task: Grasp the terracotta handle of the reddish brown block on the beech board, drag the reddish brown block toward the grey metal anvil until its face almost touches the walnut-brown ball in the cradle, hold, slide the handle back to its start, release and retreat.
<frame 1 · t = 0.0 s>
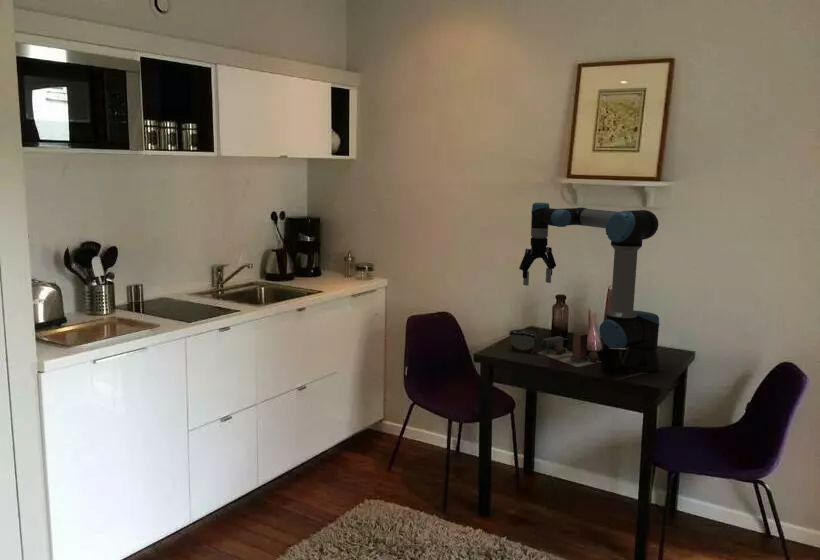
hand: (537, 284, 313), 28 cm above the table, fingers open, 13 cm apart
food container: (523, 353, 303), on the table
reddish brown block: (579, 347, 288), point 7 cm above the table, slide at 0.0 cm
anvil: (555, 345, 300), on the board, point 4 cm above the table
nut: (558, 353, 299), point 1 cm above the table, touching board
board: (568, 359, 294), on the table
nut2: (593, 361, 289), point 1 cm above the table, touching board
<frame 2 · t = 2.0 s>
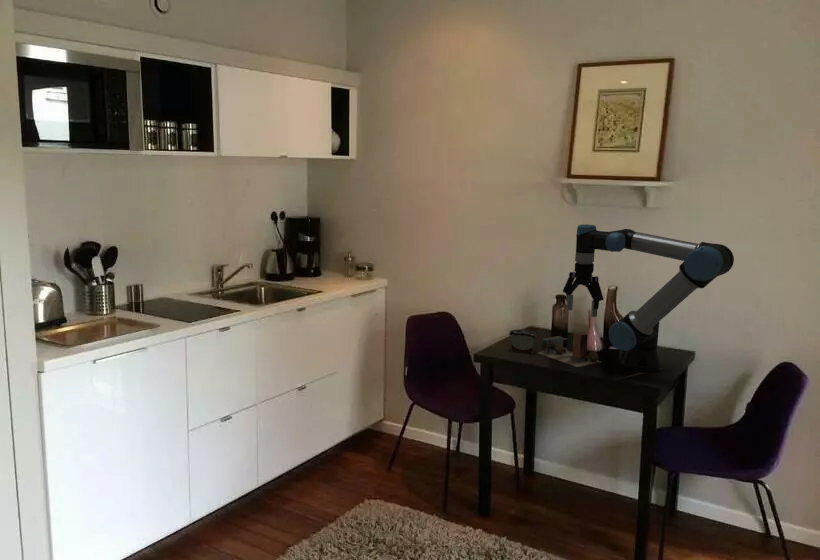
hand: (581, 313, 286), 21 cm above the table, fingers open, 13 cm apart
nothing on the table moved.
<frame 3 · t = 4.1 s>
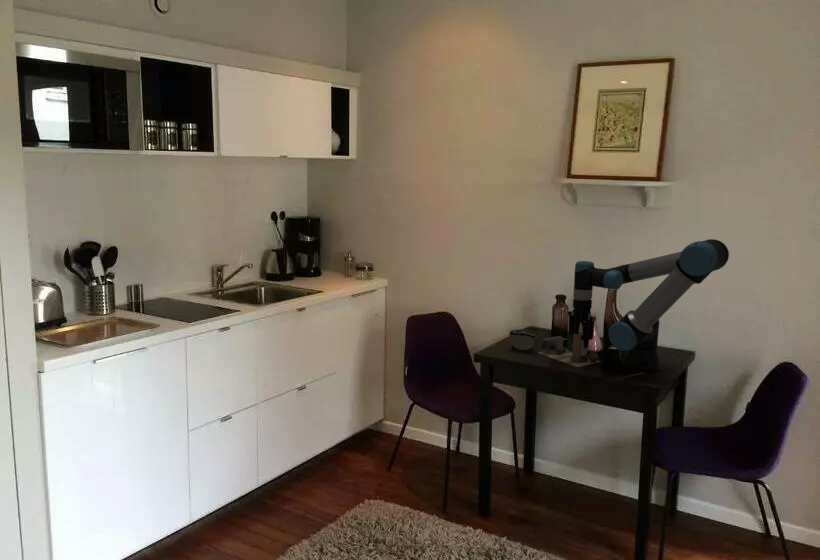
hand: (579, 353, 288), 4 cm above the table, fingers closed on reddish brown block, 4 cm apart
reddish brown block: (579, 347, 288), point 7 cm above the table, slide at 0.0 cm, touching gripper
everything else where it was.
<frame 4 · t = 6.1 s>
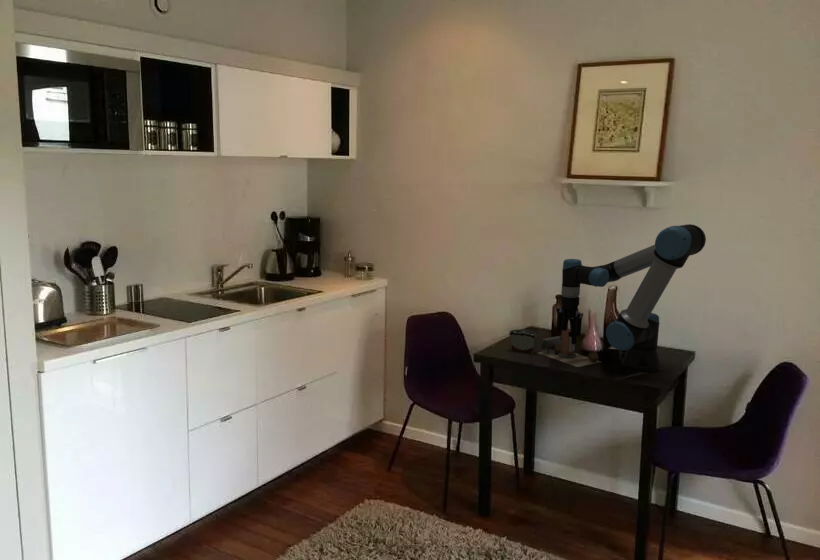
hand: (567, 349, 294), 4 cm above the table, fingers closed on reddish brown block, 4 cm apart
reddish brown block: (567, 343, 294), point 7 cm above the table, slide at 6.9 cm, touching gripper
everything else where it was.
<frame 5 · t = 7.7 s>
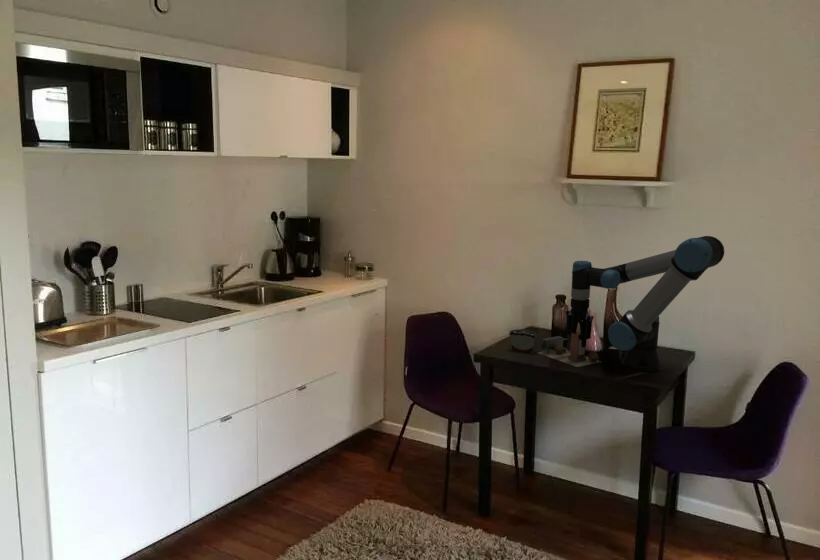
hand: (577, 352, 289), 4 cm above the table, fingers closed on reddish brown block, 4 cm apart
reddish brown block: (577, 346, 289), point 7 cm above the table, slide at 1.2 cm, touching gripper
everything else where it was.
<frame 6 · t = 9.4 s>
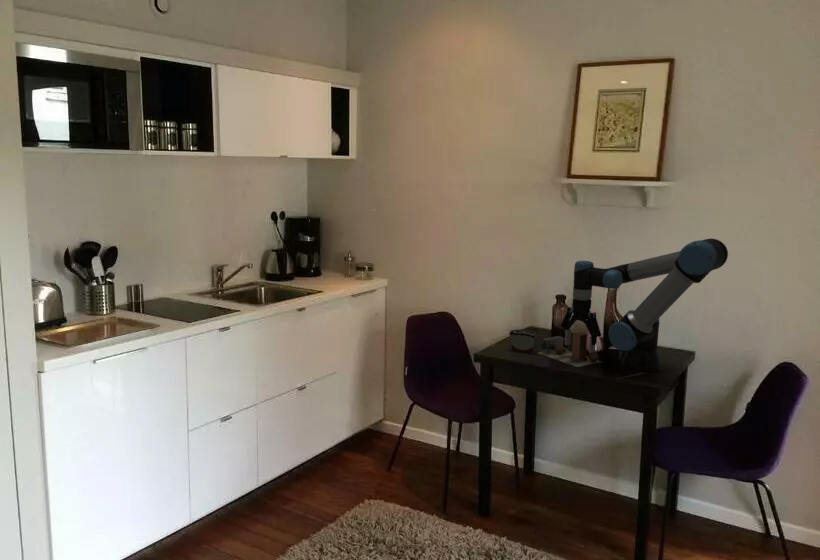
hand: (579, 348, 288), 6 cm above the table, fingers open, 13 cm apart
reddish brown block: (579, 347, 288), point 7 cm above the table, slide at 0.3 cm
everything else where it was.
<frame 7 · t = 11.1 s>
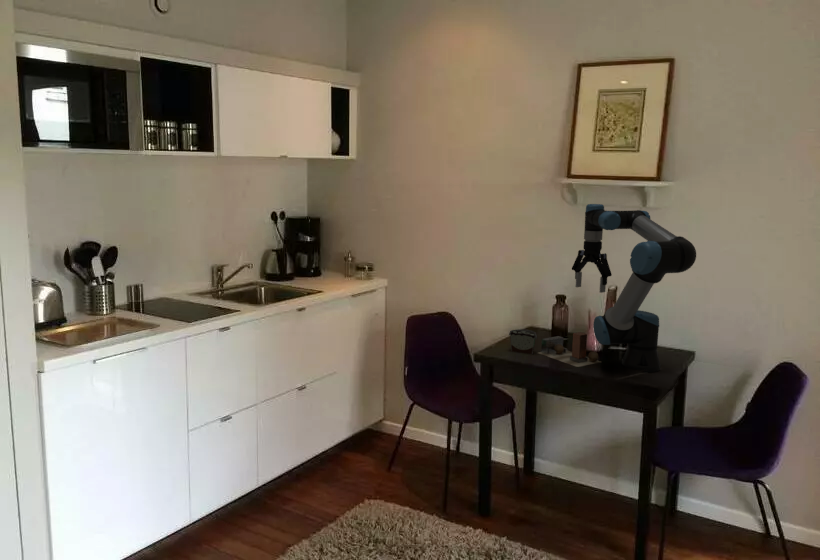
hand: (590, 289, 297), 29 cm above the table, fingers open, 13 cm apart
nothing on the table moved.
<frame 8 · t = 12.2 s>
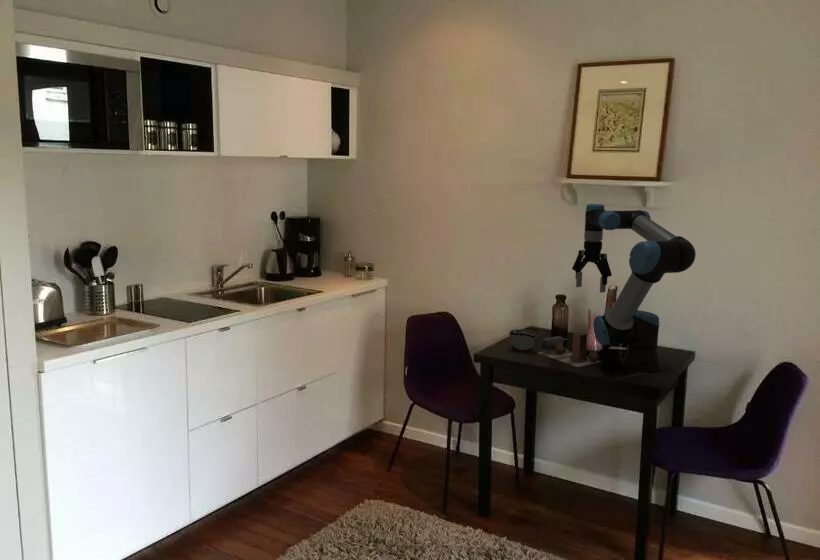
hand: (590, 289, 298), 29 cm above the table, fingers open, 13 cm apart
nothing on the table moved.
at the end: reddish brown block slide at 0.3 cm; nut 0.2 cm from the target spot, point 1.0 cm above the table; the gripper is holding nothing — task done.
